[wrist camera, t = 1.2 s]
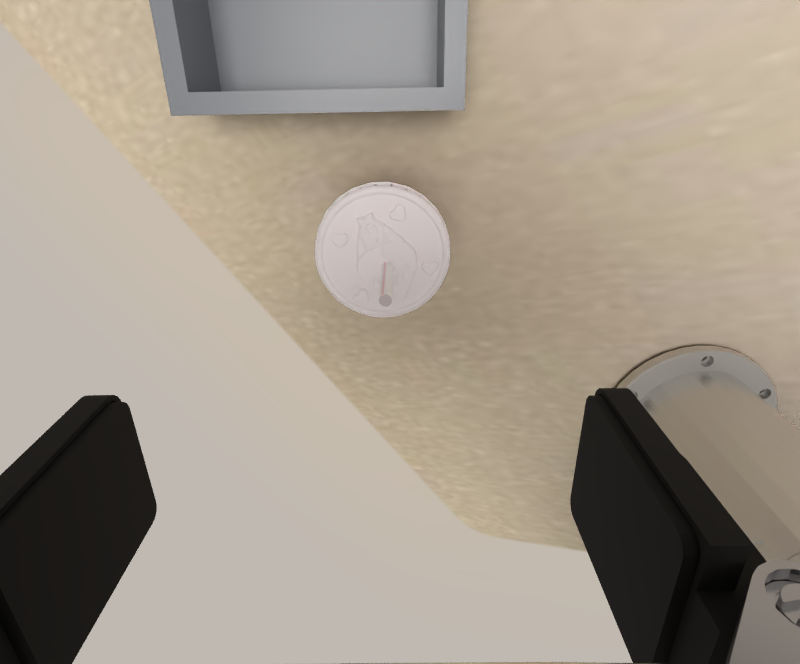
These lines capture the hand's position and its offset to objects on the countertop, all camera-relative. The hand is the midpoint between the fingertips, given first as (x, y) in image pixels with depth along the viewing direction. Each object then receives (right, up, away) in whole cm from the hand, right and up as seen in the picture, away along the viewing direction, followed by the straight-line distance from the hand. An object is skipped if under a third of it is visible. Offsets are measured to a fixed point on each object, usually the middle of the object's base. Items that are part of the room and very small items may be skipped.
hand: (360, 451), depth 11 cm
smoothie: (0, +10, +22) cm, 24 cm away
